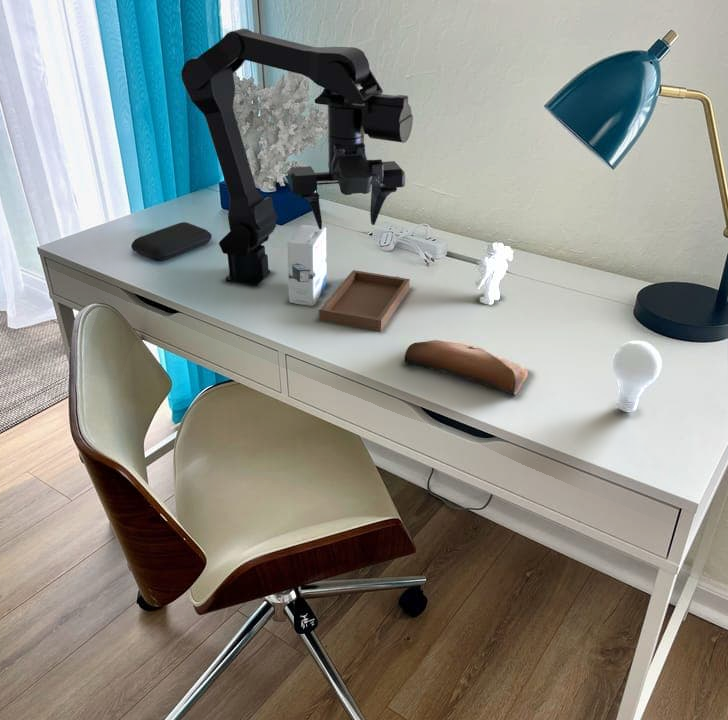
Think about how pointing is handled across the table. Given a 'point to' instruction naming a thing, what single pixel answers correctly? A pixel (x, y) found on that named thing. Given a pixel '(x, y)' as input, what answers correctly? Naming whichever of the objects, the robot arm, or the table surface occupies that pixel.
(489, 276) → the flower shoulder figurine
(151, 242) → the carrying case
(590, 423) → the table surface
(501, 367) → the sunglasses case
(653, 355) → the lightbulb
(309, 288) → the ink box
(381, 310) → the desk tray
